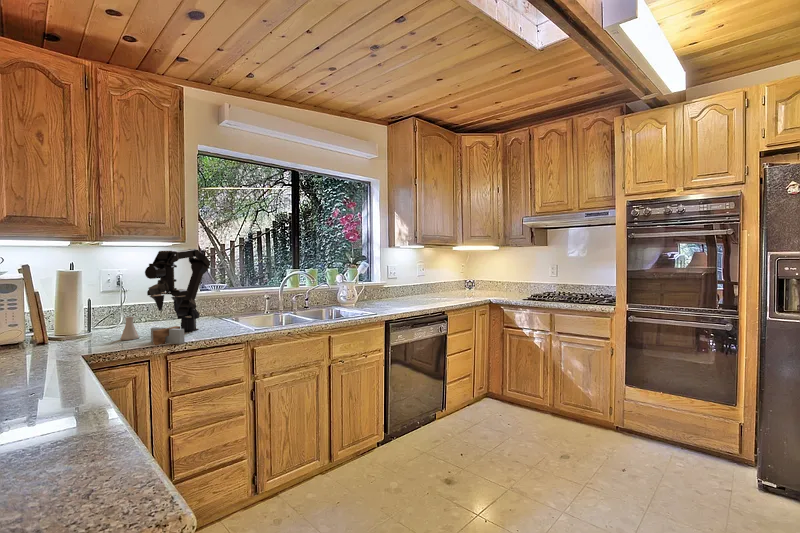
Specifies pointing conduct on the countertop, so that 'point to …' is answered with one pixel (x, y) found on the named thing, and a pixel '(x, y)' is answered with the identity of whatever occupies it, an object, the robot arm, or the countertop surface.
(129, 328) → the flask
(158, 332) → the walnut board
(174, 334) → the slotted stand
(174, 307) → the robot arm
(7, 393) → the countertop surface
